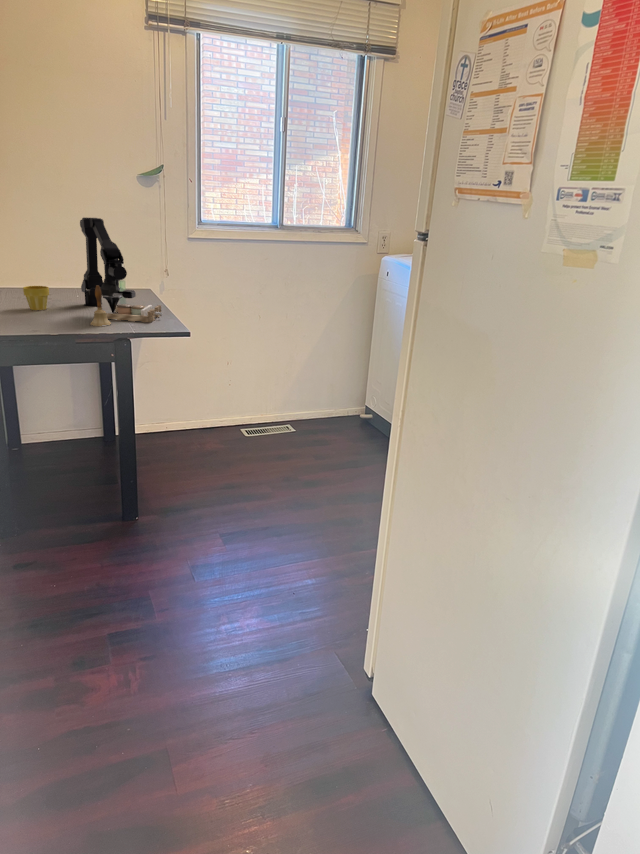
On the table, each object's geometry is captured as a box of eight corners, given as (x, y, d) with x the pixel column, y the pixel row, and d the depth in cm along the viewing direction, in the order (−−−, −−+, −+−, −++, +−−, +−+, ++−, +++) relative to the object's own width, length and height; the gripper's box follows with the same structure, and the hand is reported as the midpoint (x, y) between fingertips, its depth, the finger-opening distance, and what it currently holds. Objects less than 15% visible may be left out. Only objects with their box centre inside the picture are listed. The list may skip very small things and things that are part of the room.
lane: (103, 319, 265) (102, 308, 264) (116, 312, 280) (115, 302, 279) (151, 322, 265) (150, 311, 263) (161, 315, 280) (161, 305, 279)
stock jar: (129, 318, 270) (129, 307, 268) (133, 315, 276) (133, 304, 274) (143, 319, 270) (143, 308, 268) (147, 316, 276) (147, 305, 274)
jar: (115, 317, 270) (114, 306, 268) (120, 314, 276) (119, 303, 274) (129, 318, 270) (128, 307, 268) (134, 315, 276) (133, 304, 274)
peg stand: (141, 320, 266) (140, 310, 265) (150, 314, 279) (149, 304, 277) (157, 321, 266) (157, 311, 265) (165, 315, 279) (165, 306, 277)
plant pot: (25, 307, 278) (23, 285, 275) (50, 306, 282) (48, 285, 279) (25, 311, 270) (22, 289, 266) (50, 311, 274) (48, 289, 270)
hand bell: (91, 326, 251) (88, 287, 245) (89, 322, 258) (86, 283, 252) (112, 326, 254) (110, 287, 248) (110, 322, 261) (107, 283, 255)
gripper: (82, 277, 259) (85, 313, 265) (127, 280, 259) (128, 317, 265) (93, 273, 270) (94, 309, 275) (135, 277, 269) (136, 312, 275)
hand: (113, 312), depth 272 cm, fingers closed
